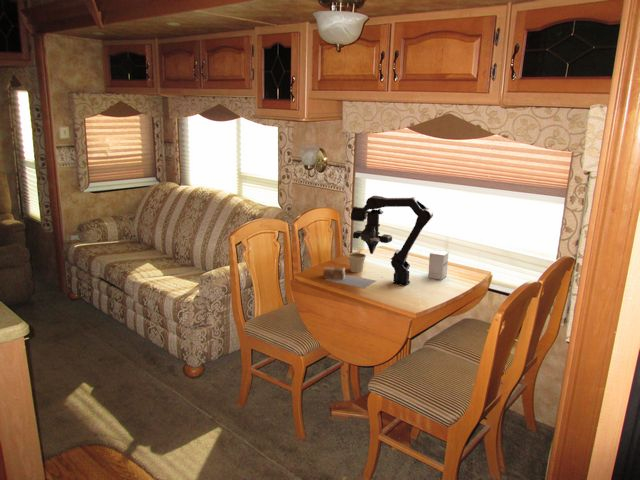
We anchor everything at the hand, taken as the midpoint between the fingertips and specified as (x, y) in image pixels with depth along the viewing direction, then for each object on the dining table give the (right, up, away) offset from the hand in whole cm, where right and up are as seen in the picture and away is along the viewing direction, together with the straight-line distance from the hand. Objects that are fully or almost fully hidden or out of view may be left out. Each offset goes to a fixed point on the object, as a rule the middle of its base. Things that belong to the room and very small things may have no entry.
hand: (371, 253), depth 251 cm
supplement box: (+34, -12, +8) cm, 37 cm away
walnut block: (-13, -10, +3) cm, 17 cm away
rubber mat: (-10, -13, 0) cm, 17 cm away
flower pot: (-6, -10, +15) cm, 19 cm away
